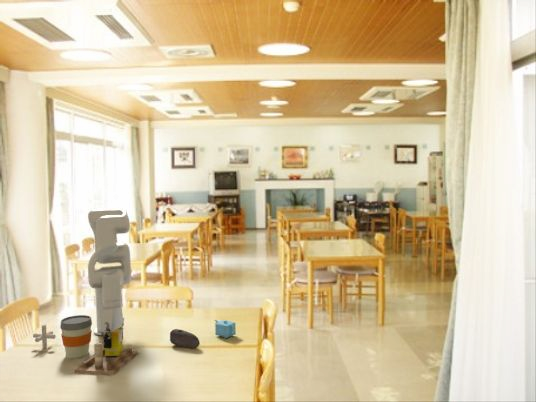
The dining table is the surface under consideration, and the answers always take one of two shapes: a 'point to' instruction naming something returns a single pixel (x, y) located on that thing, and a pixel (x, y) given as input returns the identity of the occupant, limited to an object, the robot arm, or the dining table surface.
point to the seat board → (105, 361)
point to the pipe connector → (44, 336)
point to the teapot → (225, 328)
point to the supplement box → (115, 344)
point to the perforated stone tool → (184, 339)
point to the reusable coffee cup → (76, 335)
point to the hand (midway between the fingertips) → (113, 343)
